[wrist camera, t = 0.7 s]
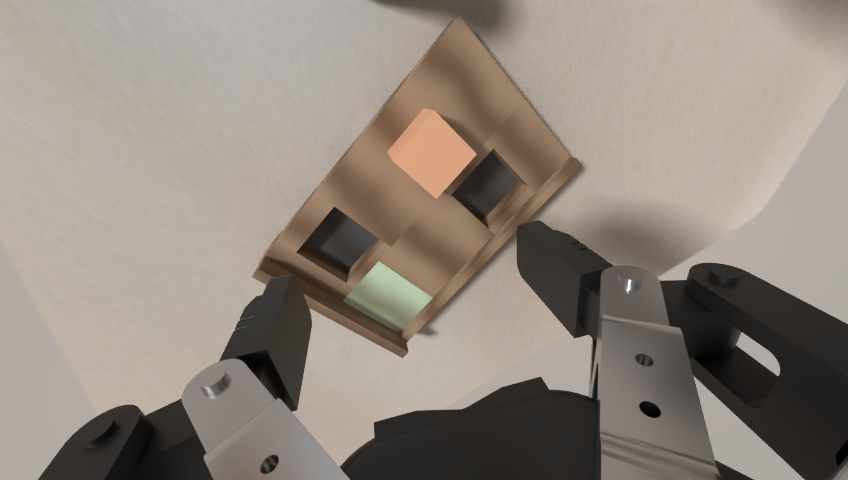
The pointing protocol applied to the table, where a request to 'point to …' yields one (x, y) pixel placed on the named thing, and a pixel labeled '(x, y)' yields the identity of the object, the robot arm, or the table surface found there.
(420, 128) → the terracotta block
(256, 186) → the table surface
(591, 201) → the table surface
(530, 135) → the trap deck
